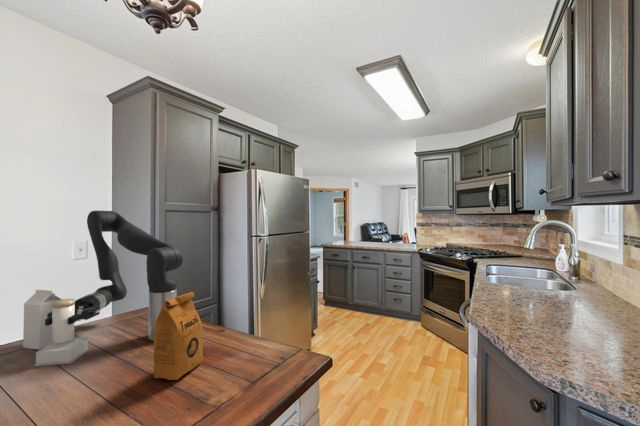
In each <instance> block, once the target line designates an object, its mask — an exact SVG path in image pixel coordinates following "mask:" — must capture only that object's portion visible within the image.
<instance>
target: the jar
mask: <svg viewBox="0 0 640 426" xmlns="http://www.w3.org/2000/svg"><path fill="white" fill-rule="evenodd" d="M61 299H62V300H57V301H54V302H52V343H62V342H66V341H69V340H72V339H75V322H74V323H73V324H69V325H68V318H69V317H71V316H72V315H74V314H75V301H76V299H75V298H64V299H63V298H61Z"/></svg>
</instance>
